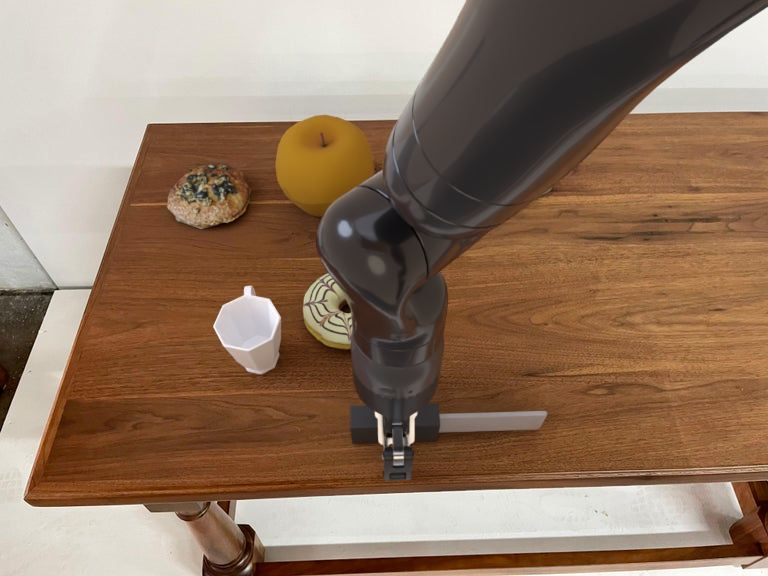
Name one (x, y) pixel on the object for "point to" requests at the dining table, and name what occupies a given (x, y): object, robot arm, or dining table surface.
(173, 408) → the dining table surface
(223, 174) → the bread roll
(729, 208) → the dining table surface
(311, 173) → the apple
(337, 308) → the decorated donut
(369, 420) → the knife
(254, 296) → the cup
